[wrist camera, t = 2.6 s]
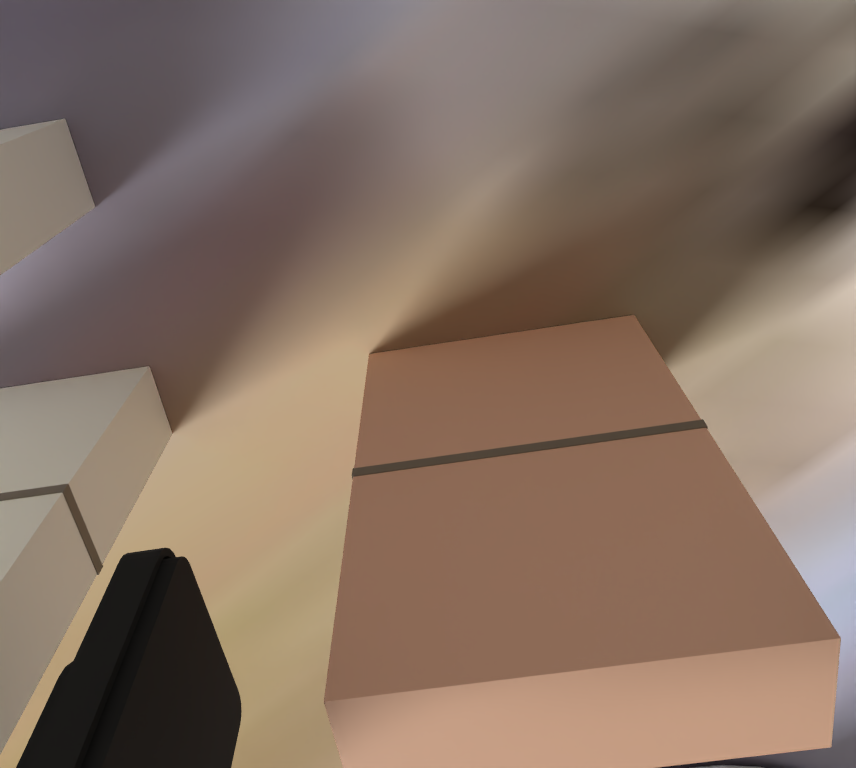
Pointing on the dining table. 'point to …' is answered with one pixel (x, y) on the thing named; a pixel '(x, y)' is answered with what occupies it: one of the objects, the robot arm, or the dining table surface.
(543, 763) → the domino
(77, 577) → the domino
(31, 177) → the domino
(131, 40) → the dining table surface
